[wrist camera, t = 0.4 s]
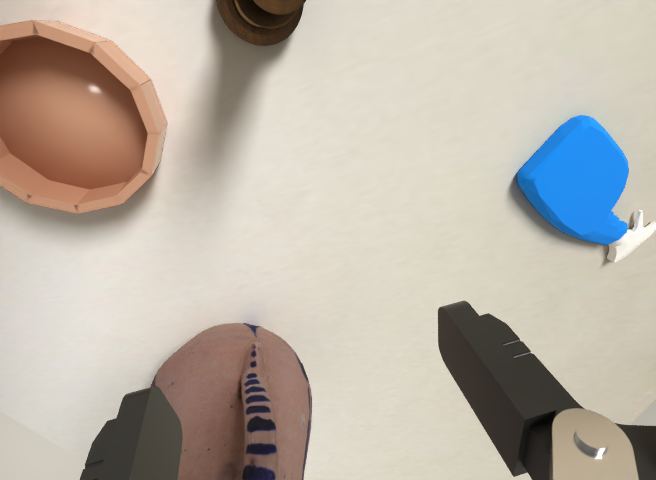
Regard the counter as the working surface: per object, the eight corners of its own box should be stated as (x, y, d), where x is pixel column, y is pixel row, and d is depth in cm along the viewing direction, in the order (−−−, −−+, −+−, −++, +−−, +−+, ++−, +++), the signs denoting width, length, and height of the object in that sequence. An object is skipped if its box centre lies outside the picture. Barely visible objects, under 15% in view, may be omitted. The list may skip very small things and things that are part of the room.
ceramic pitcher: (164, 405, 50) (108, 690, 28) (150, 273, 40) (49, 556, 18) (295, 395, 54) (332, 635, 32) (311, 273, 44) (380, 502, 23)
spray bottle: (520, 190, 41) (610, 280, 53) (600, 107, 38) (677, 222, 50) (503, 180, 44) (593, 269, 55) (578, 102, 41) (656, 213, 52)
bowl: (-65, 42, 27) (-109, 43, 24) (125, 9, 28) (109, 7, 25) (38, 207, 34) (15, 227, 31) (186, 175, 35) (181, 191, 32)
